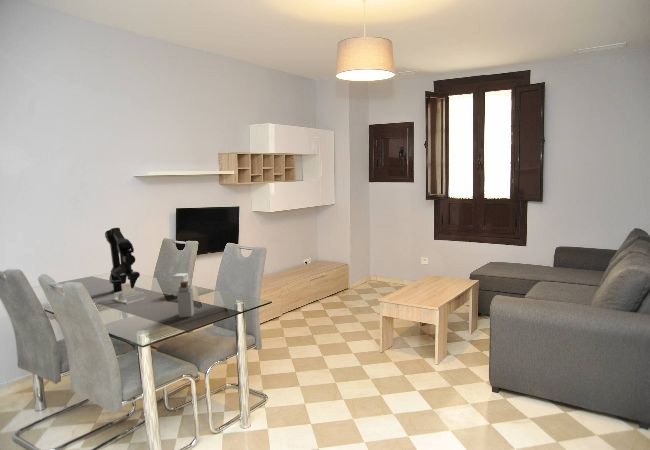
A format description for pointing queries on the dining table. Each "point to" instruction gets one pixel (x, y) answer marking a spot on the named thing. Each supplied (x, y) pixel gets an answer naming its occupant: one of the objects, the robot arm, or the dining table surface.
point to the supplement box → (179, 281)
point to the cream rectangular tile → (127, 288)
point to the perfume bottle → (185, 300)
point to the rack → (128, 297)
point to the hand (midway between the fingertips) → (128, 287)
